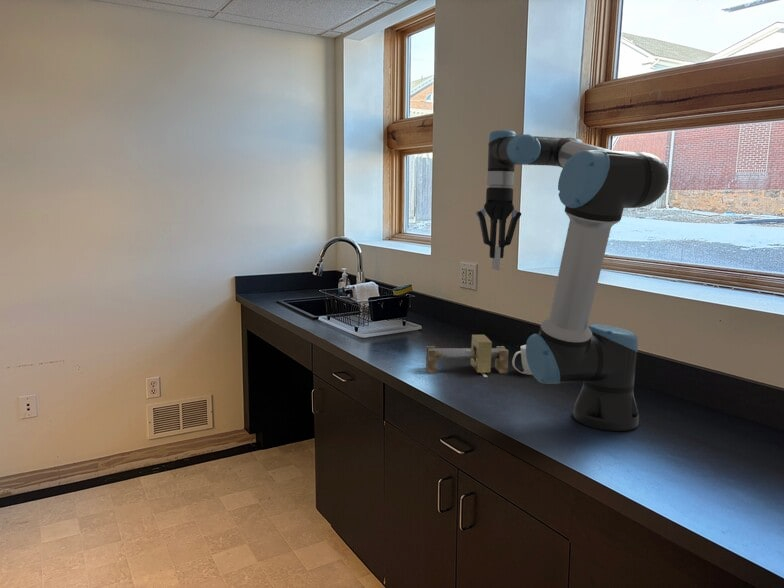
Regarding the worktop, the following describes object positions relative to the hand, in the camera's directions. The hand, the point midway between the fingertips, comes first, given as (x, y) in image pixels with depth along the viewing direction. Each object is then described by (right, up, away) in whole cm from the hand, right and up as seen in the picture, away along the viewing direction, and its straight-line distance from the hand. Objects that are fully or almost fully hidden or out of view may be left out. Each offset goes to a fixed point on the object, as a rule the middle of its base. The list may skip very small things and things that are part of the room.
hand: (495, 269), depth 175 cm
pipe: (-7, -27, +10) cm, 30 cm away
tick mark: (-3, -31, +11) cm, 33 cm away
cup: (+11, -32, +10) cm, 35 cm away
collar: (-3, -31, +11) cm, 33 cm away
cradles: (-7, -31, +11) cm, 33 cm away
